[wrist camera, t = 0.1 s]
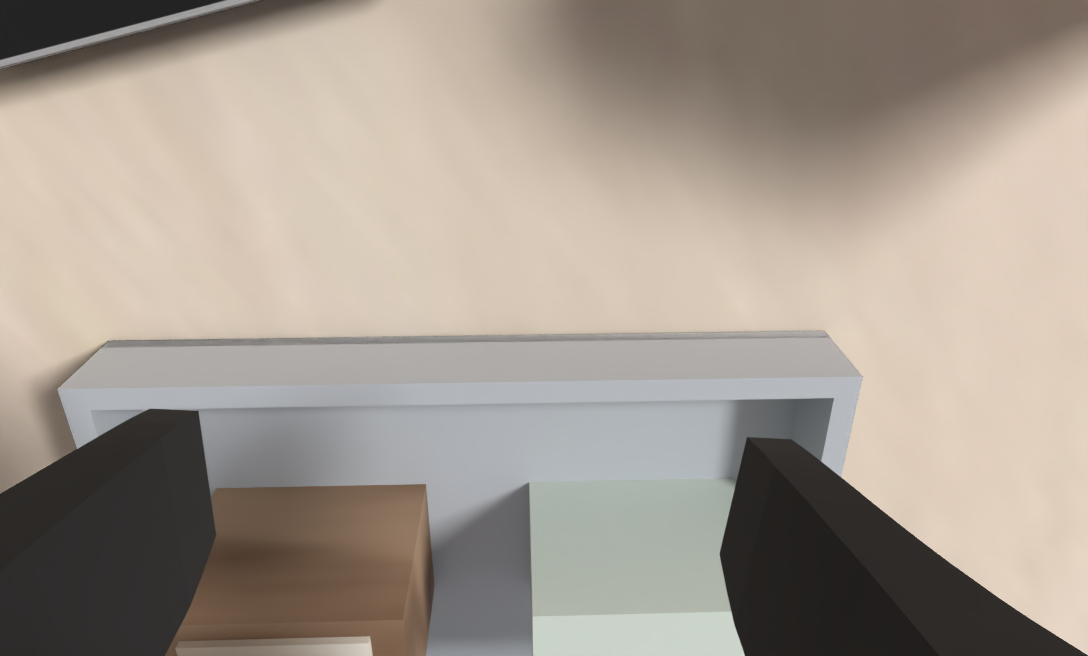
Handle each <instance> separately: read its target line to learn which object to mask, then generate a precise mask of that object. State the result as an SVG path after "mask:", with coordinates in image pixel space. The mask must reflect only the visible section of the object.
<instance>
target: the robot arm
mask: <svg viewBox="0 0 1088 656" xmlns="http://www.w3.org/2000/svg"><path fill="white" fill-rule="evenodd" d="M215 537H216V530H215V523H214V516H213V509H212V502H211V495H210V488H209V481H208V474H207V467H206V460H205V453H204V446H203V439H202V432H201V425H200V418H199V411H190V410H169V409H148V410H146V411H144V412H142V413H140V414H138V415H136V416H134V417H132V418H130V419H128V420H126V421H125V422H123V423H121V424H119V425H118V426H116V427H114V428H112V429H111V430H109V431H107V432H105V433H104V434H102V435H100V436H98V437H97V438H95V439H93V440H92V441H90V442H88V443H86V444H85V445H83V446H81V447H80V448H78V449H76V450H75V451H73V452H71V453H70V454H68V455H66V456H64V457H63V458H61V459H59V460H58V461H56V462H54V463H52V464H51V465H49V466H47V467H46V468H44V469H42V470H40V471H39V472H37V473H35V474H34V475H32V476H30V477H28V478H27V479H25V480H23V481H22V482H20V483H18V484H16V485H15V486H13V487H11V488H10V489H8V490H6V491H4V492H3V493H1V494H0V656H165V655H166V653H167V651H168V649H169V647H170V645H171V643H172V641H173V639H174V637H175V635H176V633H177V631H178V630H179V628H180V626H181V624H182V622H183V620H184V618H185V616H186V614H187V612H188V610H189V608H190V606H191V603H192V600H193V598H194V595H195V593H196V590H197V587H198V585H199V582H200V580H201V577H202V574H203V572H204V569H205V566H206V563H207V560H208V557H209V554H210V552H211V549H212V546H213V543H214V540H215ZM719 555H720V560H721V565H722V570H723V575H724V580H725V585H726V590H727V595H728V599H729V603H730V608H731V612H732V617H733V621H734V625H735V628H736V631H737V634H738V637H739V640H740V643H741V646H742V648H743V651H744V654H745V656H1088V655H1086V654H1085V653H1083V652H1081V651H1080V650H1078V649H1077V648H1075V647H1074V646H1072V645H1070V644H1069V643H1067V642H1066V641H1064V640H1062V639H1061V638H1059V637H1058V636H1056V635H1054V634H1053V633H1051V632H1050V631H1048V630H1046V629H1045V628H1043V627H1042V626H1040V625H1039V624H1037V623H1035V622H1034V621H1032V620H1031V619H1029V618H1028V617H1026V616H1025V615H1023V614H1022V613H1020V612H1019V611H1017V610H1016V609H1014V608H1013V607H1011V606H1010V605H1008V604H1007V603H1005V602H1004V601H1002V600H1001V599H999V598H998V597H997V596H995V595H994V594H992V593H991V592H990V591H988V590H987V589H985V588H984V587H983V586H981V585H980V584H978V583H977V582H976V581H974V580H973V579H971V578H970V577H969V576H967V575H966V574H964V573H963V572H962V571H960V570H959V569H957V568H956V567H955V566H953V565H952V564H950V563H949V562H948V561H946V560H945V559H944V558H942V557H941V556H940V555H938V554H937V553H936V552H934V551H933V550H932V549H931V548H929V547H928V546H927V545H925V544H924V543H923V542H921V541H920V540H919V539H917V538H916V537H915V536H914V535H912V534H911V533H910V532H908V531H907V530H906V529H905V528H903V527H902V526H901V525H899V524H898V523H897V522H896V521H894V520H893V519H892V518H891V517H889V516H888V515H887V514H886V513H884V512H883V511H882V510H881V509H879V508H878V507H877V506H876V505H874V504H873V503H872V502H871V501H869V500H868V499H867V498H866V497H864V496H863V495H862V494H861V493H860V492H858V491H857V490H856V489H855V488H853V487H852V486H851V485H850V484H849V483H847V482H846V481H845V480H844V479H842V478H841V477H840V476H839V475H837V474H836V473H835V472H834V471H832V470H831V469H830V468H829V467H827V466H826V465H825V464H824V463H822V462H821V461H820V460H819V459H817V458H816V457H815V456H814V455H812V454H811V453H810V452H808V451H807V450H806V449H804V448H803V447H802V446H800V445H799V444H797V443H796V442H795V441H793V440H792V439H778V438H757V437H747V438H746V443H745V447H744V451H743V456H742V460H741V464H740V468H739V473H738V477H737V481H736V485H735V490H734V494H733V498H732V502H731V507H730V511H729V515H728V519H727V524H726V528H725V532H724V536H723V541H722V545H721V549H720V554H719Z"/></svg>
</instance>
